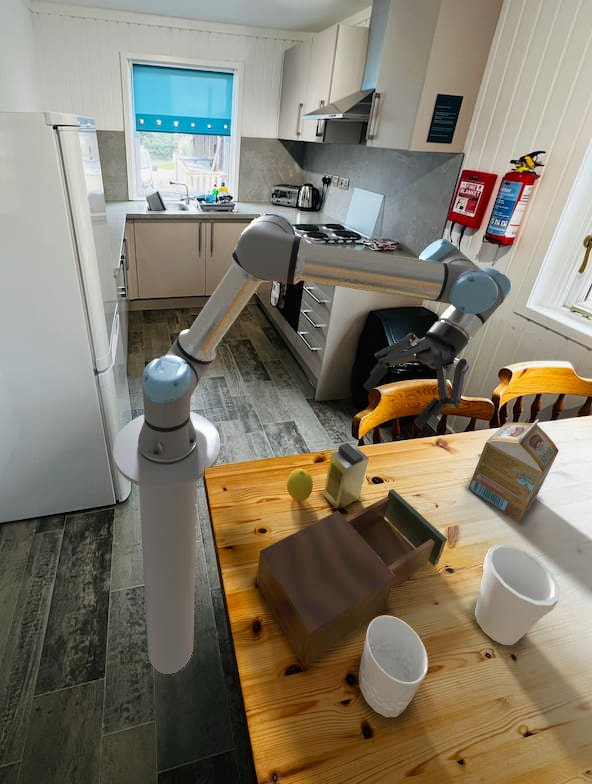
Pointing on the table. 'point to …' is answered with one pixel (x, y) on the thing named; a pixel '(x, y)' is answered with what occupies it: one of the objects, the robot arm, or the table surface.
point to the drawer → (398, 535)
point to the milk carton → (514, 467)
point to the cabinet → (323, 584)
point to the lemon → (299, 484)
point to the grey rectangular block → (345, 475)
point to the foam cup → (513, 593)
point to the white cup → (391, 665)
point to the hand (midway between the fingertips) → (390, 406)
